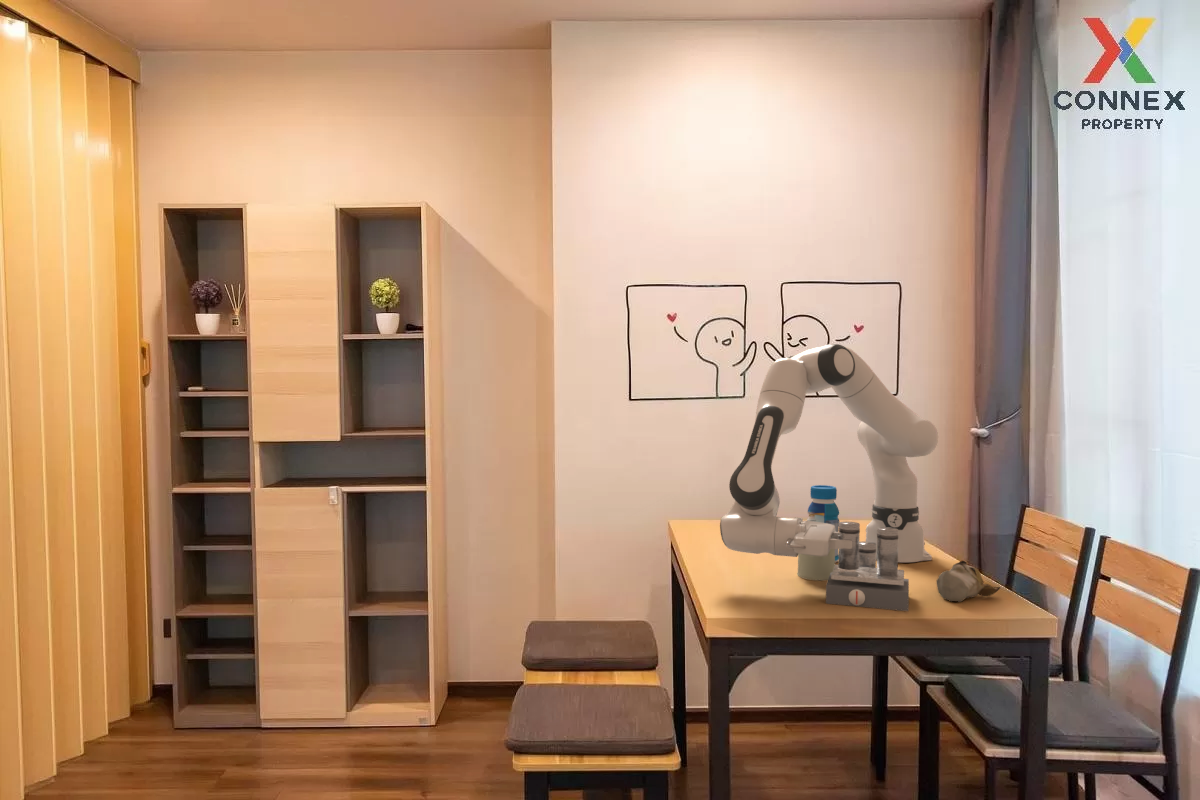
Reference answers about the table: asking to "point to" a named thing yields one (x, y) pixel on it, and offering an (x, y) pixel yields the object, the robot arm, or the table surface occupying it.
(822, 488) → the beverage bottle
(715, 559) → the table surface
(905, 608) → the scale body
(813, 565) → the can
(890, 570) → the cylinder
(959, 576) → the ceramic sculpture
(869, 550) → the cylinder
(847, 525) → the cylinder
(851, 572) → the scale pan
